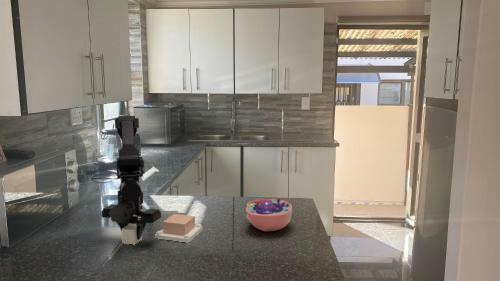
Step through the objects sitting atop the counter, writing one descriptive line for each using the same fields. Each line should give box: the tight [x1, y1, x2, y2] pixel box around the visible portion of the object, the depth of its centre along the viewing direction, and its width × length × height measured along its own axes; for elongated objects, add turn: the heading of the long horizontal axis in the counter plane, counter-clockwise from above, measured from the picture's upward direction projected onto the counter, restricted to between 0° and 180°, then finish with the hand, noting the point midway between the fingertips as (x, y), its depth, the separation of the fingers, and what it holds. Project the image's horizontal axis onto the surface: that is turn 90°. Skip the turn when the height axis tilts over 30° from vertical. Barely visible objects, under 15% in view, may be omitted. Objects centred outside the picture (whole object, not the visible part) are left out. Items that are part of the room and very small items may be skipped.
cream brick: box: [121, 223, 143, 246], centre depth 121 cm, size 4×4×5 cm
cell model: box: [245, 198, 293, 232], centre depth 134 cm, size 17×20×11 cm
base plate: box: [154, 213, 204, 244], centre depth 127 cm, size 12×12×6 cm
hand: (132, 238), depth 121 cm, fingers closed on cream brick, 4 cm apart
